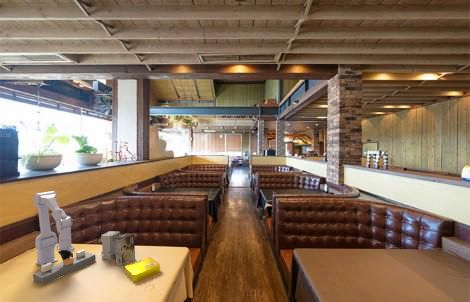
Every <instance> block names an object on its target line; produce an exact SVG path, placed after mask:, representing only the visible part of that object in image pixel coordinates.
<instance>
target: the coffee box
mask: <svg viewBox="0 0 470 302" xmlns="http://www.w3.org/2000/svg"><path fill="white" fill-rule="evenodd" d="M115 251H116V258H115V264H116V265H119V266H121V267H122V266H124V265H125V266H126V265H128V264H130V263H131V262H132V261H136V247H135V234H134V233H130V232H126V233H124V234H120V236H118V237H115Z"/></svg>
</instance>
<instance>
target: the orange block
mask: <svg viewBox="0 0 470 302" xmlns="http://www.w3.org/2000/svg"><path fill="white" fill-rule="evenodd" d="M73 258H74V256H73V257H69V258H67V259H64V260H62V262H63V261H64V265H65V266H67V265H69V264H72V263H74V261H73Z"/></svg>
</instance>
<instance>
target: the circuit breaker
mask: <svg viewBox="0 0 470 302" xmlns="http://www.w3.org/2000/svg"><path fill="white" fill-rule="evenodd" d="M100 236H101V237H100V242H101V245H102V249H101V255H100V256H101V259H102V258H103V259H104V260H114V259H116V251H115V237H118V236H121V231H114V230H113V231H112V230H111V231H109V230H108V231H107V232H105V233H103V234H101V235H100ZM103 259H102V260H103Z"/></svg>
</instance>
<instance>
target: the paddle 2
mask: <svg viewBox="0 0 470 302" xmlns="http://www.w3.org/2000/svg"><path fill="white" fill-rule="evenodd" d="M85 253H86V250H85V249H80V250H78V251H76V252H75V257H78V258H79V257H82V256H84V255H85Z"/></svg>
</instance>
